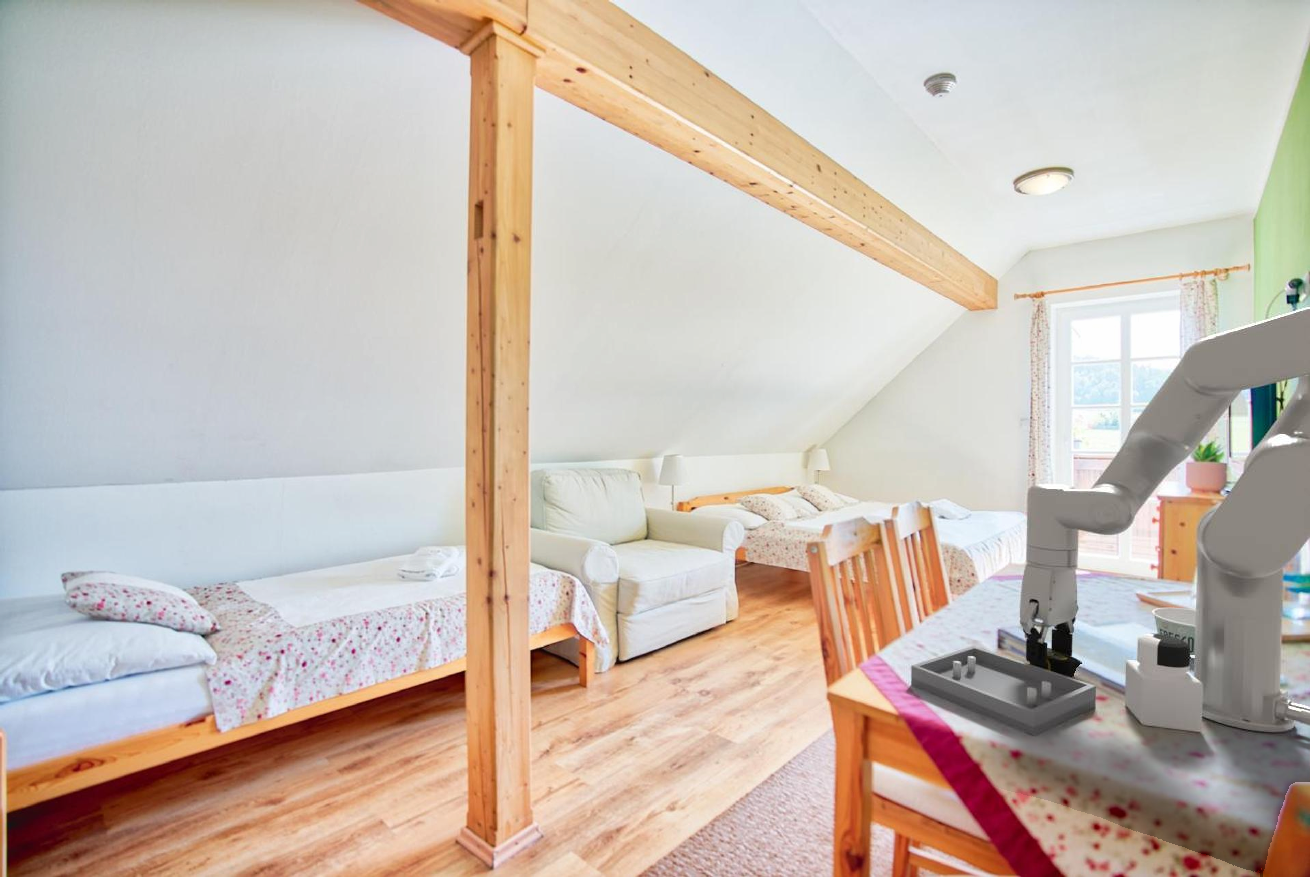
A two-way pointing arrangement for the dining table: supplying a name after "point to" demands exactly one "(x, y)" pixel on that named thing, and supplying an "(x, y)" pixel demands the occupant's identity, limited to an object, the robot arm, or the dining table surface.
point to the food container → (1177, 624)
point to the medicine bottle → (1163, 684)
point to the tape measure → (1060, 663)
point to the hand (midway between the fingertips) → (1049, 658)
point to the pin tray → (1004, 688)
